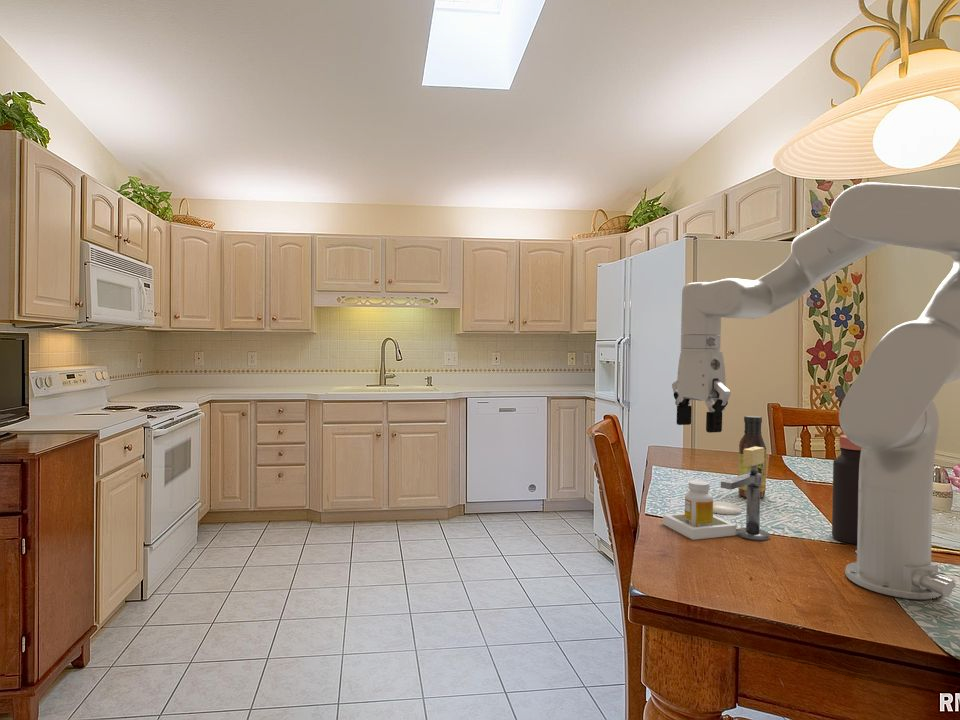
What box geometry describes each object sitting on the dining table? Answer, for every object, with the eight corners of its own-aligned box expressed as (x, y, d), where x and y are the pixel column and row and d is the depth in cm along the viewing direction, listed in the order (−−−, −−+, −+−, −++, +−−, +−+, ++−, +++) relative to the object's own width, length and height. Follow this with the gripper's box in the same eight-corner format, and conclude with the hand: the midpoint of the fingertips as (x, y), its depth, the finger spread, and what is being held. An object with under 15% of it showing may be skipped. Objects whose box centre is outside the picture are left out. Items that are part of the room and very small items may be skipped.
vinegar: (833, 531, 117) (835, 433, 117) (873, 538, 113) (876, 436, 113) (830, 541, 112) (832, 437, 111) (873, 548, 108) (875, 440, 107)
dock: (736, 535, 115) (736, 525, 115) (692, 539, 112) (692, 529, 112) (704, 520, 124) (704, 511, 124) (663, 524, 122) (663, 514, 122)
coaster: (748, 513, 130) (748, 509, 130) (718, 515, 128) (718, 512, 128) (724, 503, 138) (724, 500, 138) (695, 505, 135) (695, 502, 135)
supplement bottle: (717, 529, 118) (717, 482, 118) (706, 535, 115) (707, 487, 114) (691, 523, 122) (691, 478, 122) (680, 529, 118) (680, 482, 118)
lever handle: (766, 483, 115) (767, 448, 115) (733, 494, 106) (734, 456, 106) (751, 480, 117) (752, 445, 117) (718, 491, 108) (718, 454, 108)
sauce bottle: (762, 500, 140) (763, 418, 139) (734, 496, 144) (736, 416, 143) (768, 495, 145) (769, 416, 144) (741, 491, 149) (742, 414, 148)
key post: (776, 539, 113) (777, 488, 112) (750, 541, 111) (751, 490, 111) (754, 529, 118) (755, 480, 118) (729, 532, 117) (730, 482, 116)
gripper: (746, 344, 110) (743, 434, 111) (690, 343, 127) (688, 421, 127) (712, 344, 108) (709, 436, 109) (659, 343, 125) (658, 422, 125)
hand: (698, 428), depth 118 cm, fingers open, 9 cm apart
